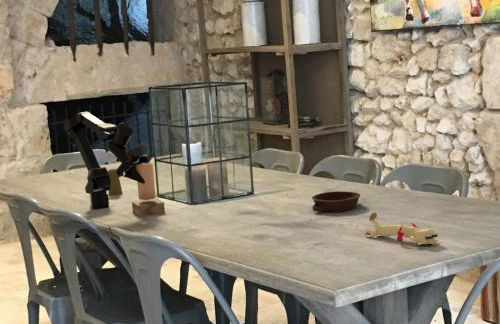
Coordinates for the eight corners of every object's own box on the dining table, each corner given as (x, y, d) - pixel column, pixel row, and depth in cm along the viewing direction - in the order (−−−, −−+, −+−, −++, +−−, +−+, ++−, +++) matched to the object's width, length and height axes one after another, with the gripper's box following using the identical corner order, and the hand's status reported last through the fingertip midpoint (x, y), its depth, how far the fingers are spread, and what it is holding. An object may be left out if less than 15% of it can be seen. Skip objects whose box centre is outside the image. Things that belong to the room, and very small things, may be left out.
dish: (374, 205, 321) (374, 192, 320) (334, 217, 306) (333, 203, 306) (338, 200, 334) (338, 188, 333) (298, 212, 319) (297, 198, 318)
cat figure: (361, 243, 273) (426, 248, 254) (358, 215, 273) (423, 218, 254) (382, 236, 280) (446, 241, 261) (379, 209, 279) (443, 212, 260)
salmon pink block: (141, 200, 331) (138, 166, 329) (136, 197, 337) (134, 164, 335) (157, 198, 333) (154, 164, 331) (153, 195, 339) (150, 162, 337)
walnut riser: (139, 216, 330) (138, 206, 329) (132, 211, 339) (131, 201, 338) (164, 212, 333) (163, 202, 332) (157, 208, 342) (156, 198, 342)
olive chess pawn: (119, 195, 376) (117, 169, 374) (106, 195, 377) (104, 170, 376) (124, 192, 382) (122, 167, 380) (111, 192, 383) (109, 168, 381)
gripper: (120, 141, 325) (148, 171, 322) (145, 134, 341) (172, 162, 339) (103, 162, 329) (131, 191, 326) (129, 154, 346) (156, 182, 343)
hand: (148, 181), depth 334 cm, fingers closed on salmon pink block, 6 cm apart
